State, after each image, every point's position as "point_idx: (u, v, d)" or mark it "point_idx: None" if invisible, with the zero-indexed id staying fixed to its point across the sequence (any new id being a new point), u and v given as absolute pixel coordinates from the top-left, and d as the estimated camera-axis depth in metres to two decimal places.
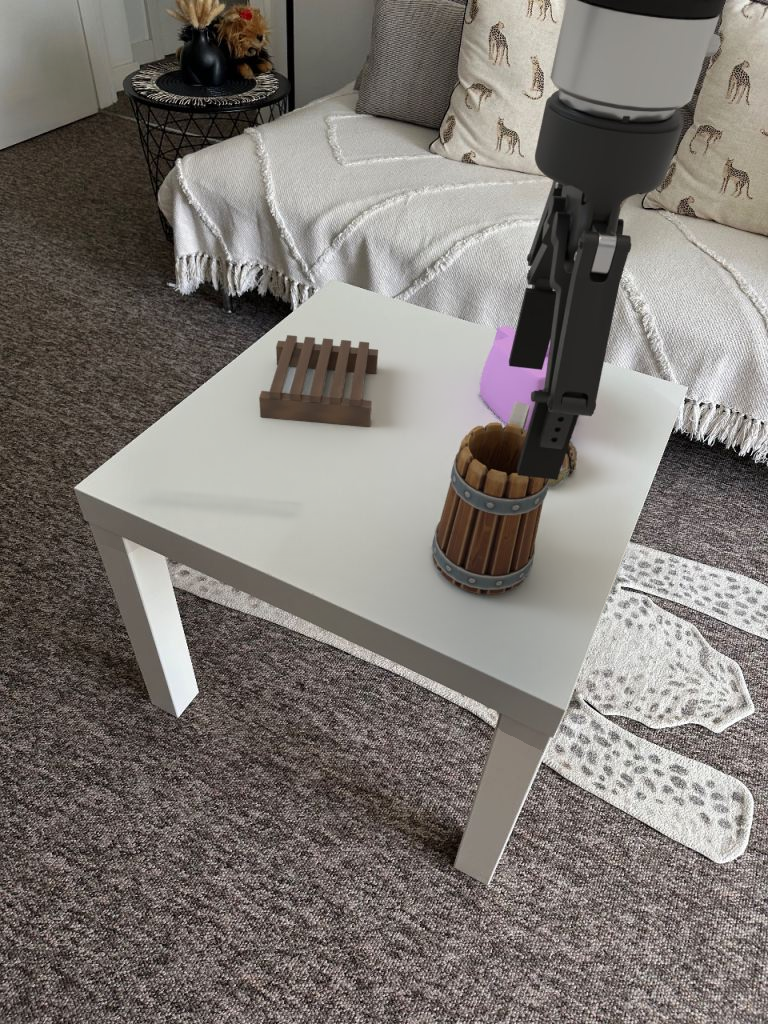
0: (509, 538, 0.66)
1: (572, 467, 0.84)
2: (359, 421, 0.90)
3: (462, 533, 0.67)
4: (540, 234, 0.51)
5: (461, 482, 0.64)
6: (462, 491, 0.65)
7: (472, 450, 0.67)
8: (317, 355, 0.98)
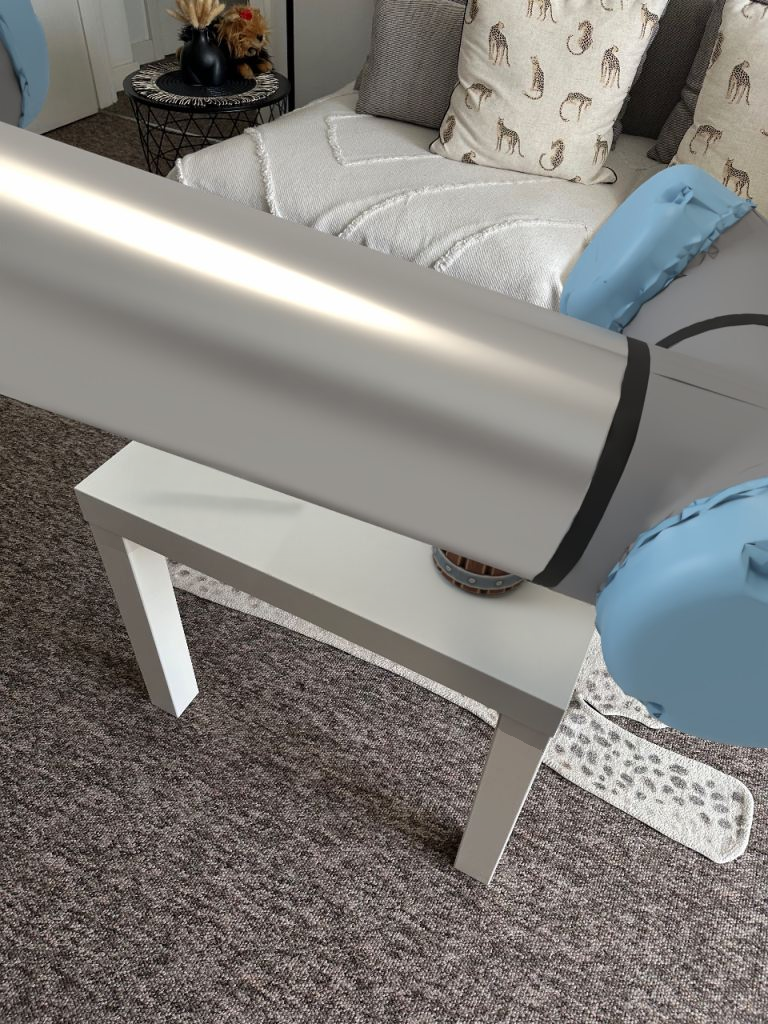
0: None
1: None
2: None
3: None
4: None
5: None
6: None
7: None
8: None
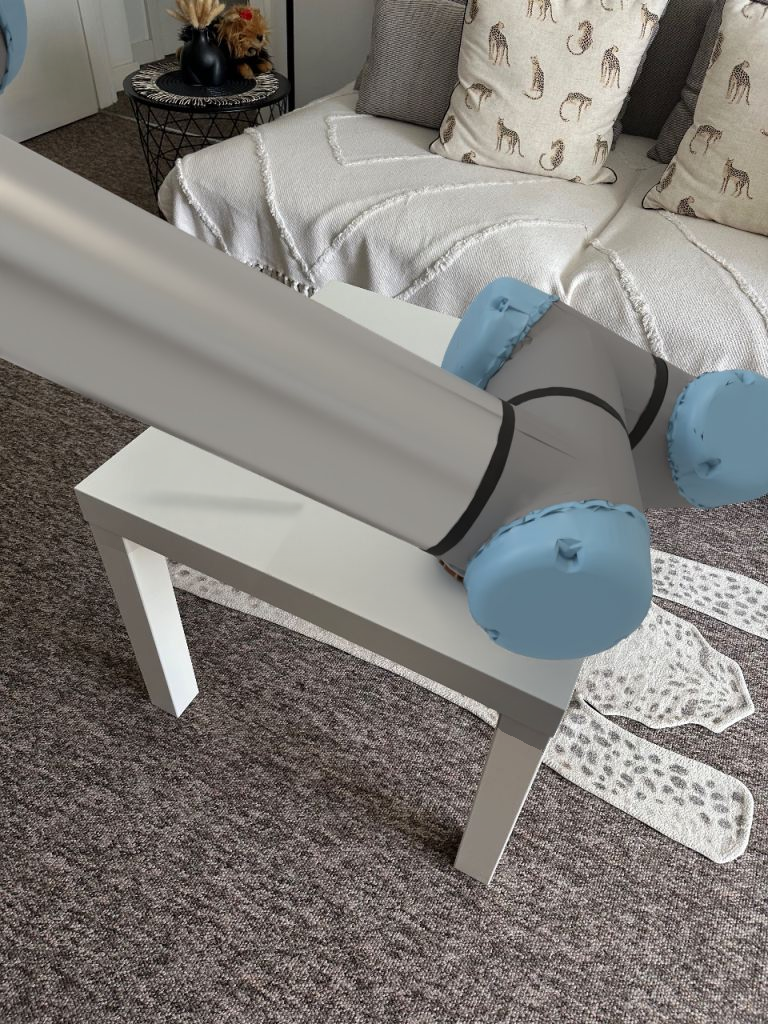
0: None
1: None
2: None
3: None
4: None
5: None
6: None
7: None
8: None
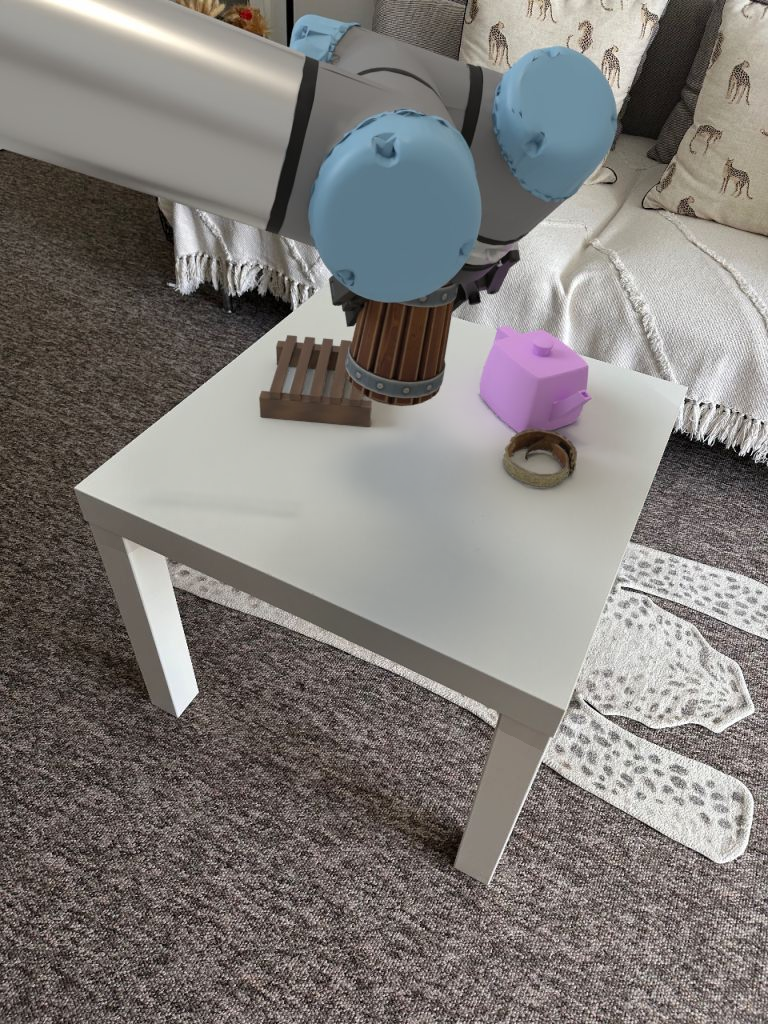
0: (416, 336, 0.68)
1: (572, 467, 0.84)
2: (359, 421, 0.90)
3: (372, 331, 0.69)
4: None
5: None
6: None
7: None
8: (317, 355, 0.98)
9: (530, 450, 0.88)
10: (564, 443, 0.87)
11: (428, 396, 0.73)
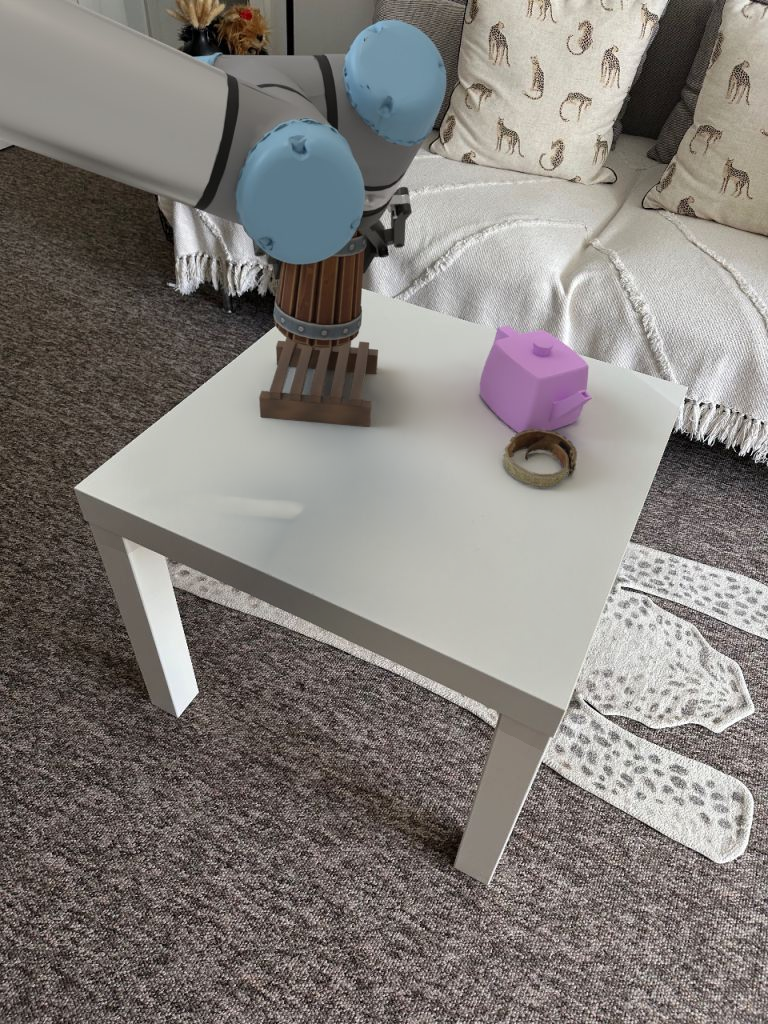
0: (329, 283, 0.77)
1: (572, 467, 0.84)
2: (359, 421, 0.90)
3: (291, 279, 0.78)
4: None
5: None
6: None
7: None
8: (317, 355, 0.98)
9: (530, 450, 0.88)
10: (564, 443, 0.87)
11: (345, 339, 0.83)
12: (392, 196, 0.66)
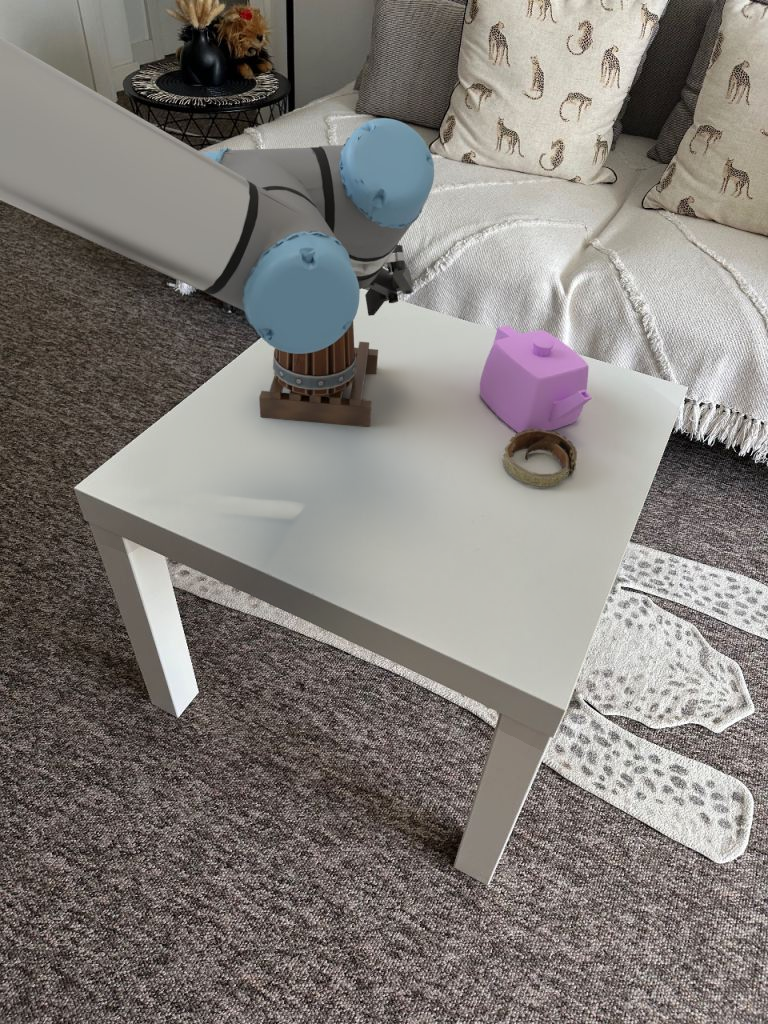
0: None
1: (572, 467, 0.84)
2: (359, 421, 0.90)
3: None
4: None
5: None
6: None
7: None
8: None
9: (530, 450, 0.88)
10: (564, 443, 0.87)
11: (342, 386, 0.88)
12: None
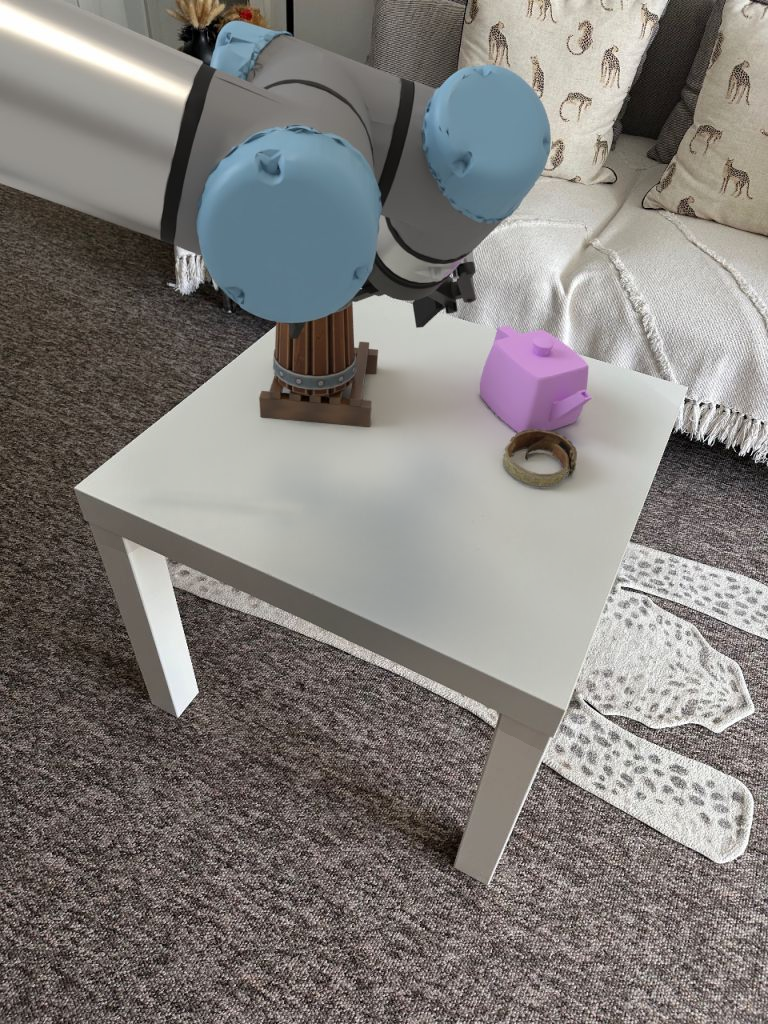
0: (321, 338, 0.82)
1: (572, 467, 0.84)
2: (359, 421, 0.90)
3: (285, 337, 0.83)
4: None
5: None
6: None
7: None
8: None
9: (530, 450, 0.88)
10: (564, 443, 0.87)
11: (342, 386, 0.88)
12: None
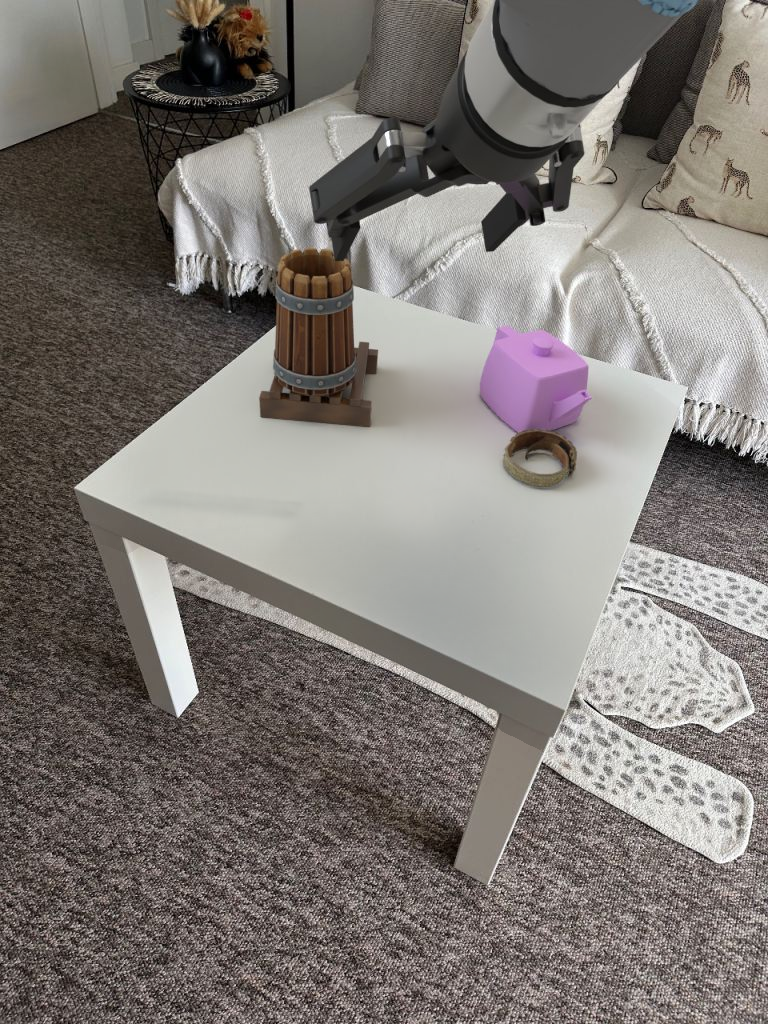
0: (321, 338, 0.82)
1: (572, 467, 0.84)
2: (359, 421, 0.90)
3: (285, 337, 0.83)
4: (549, 162, 0.52)
5: (278, 290, 0.80)
6: (280, 298, 0.81)
7: (294, 271, 0.83)
8: None
9: (530, 450, 0.88)
10: (564, 443, 0.87)
11: (342, 386, 0.88)
12: None
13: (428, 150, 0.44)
